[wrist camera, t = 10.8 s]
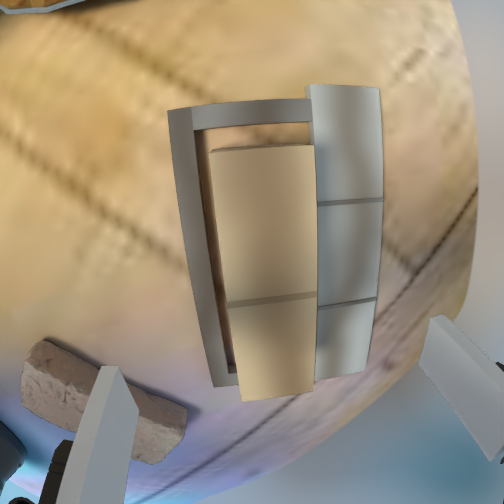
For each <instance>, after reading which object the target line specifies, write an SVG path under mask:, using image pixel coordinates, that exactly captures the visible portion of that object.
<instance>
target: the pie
mask: <svg viewBox="0 0 504 504" xmlns="http://www.w3.org/2000/svg"><path fill="white" fill-rule="evenodd" d="M82 1H86V0H0V9H1V10H2V11H4V12H5V13H7V14H8V15H10V14H23V13H48V12H50V11H53V10H56V9H59V8H62V7H65V6H68V5H72V4H76V3H79V2H82Z"/></svg>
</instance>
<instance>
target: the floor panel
mask: <svg viewBox="0 0 504 504" xmlns="http://www.w3.org/2000/svg"><path fill="white" fill-rule="evenodd" d="M305 92H306V99H275V100H255V101H241V102H230V103H220V104H211V105H202V106H195V107H187V108H181V109H174V110H168V111H167V113H168V123H169V133H170V143H171V152H172V160H173V168H174V176H175V184H176V191H177V199H178V206H179V212H180V219H181V226H182V232H183V238H184V244H185V250H186V256H187V262H188V268H189V273H190V279H191V284H192V290H193V295H194V300H195V305H196V310H197V315H198V320H199V325H200V330H201V334H202V339H203V344H204V348H205V353H206V357H207V361H208V366H209V370H210V374H211V378H212V383H213V387H223V386H234V385H239V381H238V375H237V368H236V364H231V365H228V362H227V357H226V351H225V345H224V340H223V334H222V328H221V322H220V316H219V310H218V303H217V297H216V291H215V284H214V278H213V271H212V264H211V257H210V250H209V243H208V236H207V228H206V221H205V213H204V205H203V197H202V189H201V181H200V172H199V163H198V154H197V144H196V135H195V131H197V130H205V129H214V128H223V127H233V126H244V125H256V124H272V123H294V122H308V128H309V143H310V145H314V153H315V173H316V200H317V291H318V296H317V318H316V345H315V365H314V381H319V380H324V379H329V378H333V377H338V376H343V375H347V374H352V373H356V372H360V371H364V370H365V367H366V362H367V356H368V351H369V345H370V338H371V332H372V325H373V318H374V311H375V303H376V301H377V297H376V294H377V285H378V275H379V264H380V251H381V235H382V212H383V202H384V198H383V148H382V126H381V111H380V98H379V88H373V87H362V86H347V85H326V84H309V85H308V86H306V87H305Z"/></svg>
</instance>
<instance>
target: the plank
mask: <svg viewBox="0 0 504 504" xmlns="http://www.w3.org/2000/svg"><path fill="white" fill-rule="evenodd" d="M209 160H210V169H211V179H212V188H213V197H214V206H215V214H216V223H217V231H218V240H219V248H220V255H221V263H222V271H223V279H224V286H225V293H226V303H227V309H228V315H229V322H230V329H231V336H232V342H233V349H234V355H235V362H236V368H237V375H238V381H239V387H240V393H241V399H242V402H245V401H253V400H261V399H269V398H276V397H283V396H289V395H295V394H301V393H306V392H312V391H313V381H314V365H315V345H316V318H317V296H318V291H317V200H316V173H315V153H314V145H303V144H272V145H258V146H245V147H234V148H224V149H215V150H212V151H211V152H210V153H209Z"/></svg>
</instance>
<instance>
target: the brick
mask: <svg viewBox="0 0 504 504" xmlns="http://www.w3.org/2000/svg"><path fill="white" fill-rule="evenodd" d="M99 371H100V370H98V369H97V368H96V367H95V366H93V365H92V364H90V363H88V362H86V361H83V360H82V359H80V358H79V357H77V356H75V355H73V354H71V353H70V352H68V351H66V350H63V349H61V348H60V347H57V346H55V345H53V344H52V343H50V342H47V341H40V342H37V343H36V344H35V345H34V346H33V347H32V349H31V350H30V351H29V353H28V358H27V359H26V360H25V362H24V367H23V372H22V379H21V398H22V401H21V402H22V405H23V406H24V407H25V408H27V409H29V410H30V411H31V412H32V413H34V414H35V415H37V416H39V417H41V418H43V419H45V420H46V421H48V422H50V423H52V424H55V425H57V426H58V427H61V428H64V429H66V430H69V431H72V432H75V433H77V430H78V427H79V424H80V422H81V419H82V416H83V413H84V410H85V408H86V405H87V402H88V399H89V397H90V394H91V392H92V389H93V386H94V384H95V381H96V379H97V376H98V374H99ZM126 384H127V386H128V388H129V391H130V393H131V395H132V397H133V399H134V401H135V403H136V405H137V407H138V409H139V415H138V420H137V425H136V430H135V435H134V441H133V446H132V452H131V459H133V460H139V461H142V462H145V463H147V464H151V465H153V464H157V463H159V462H161V461H162V460H163V459H165V456H166V455H167V454H168V453H169V452H170V451H171V449H173V448H174V447H176V446H177V445H178V443H179V442H180V441H181V440H182V439H183V437H184V435H185V429H186V421H187V413H188V410H187V409H186V408H185V407H183V406H181V405H178V404H175V403H174V402H172V401H170V400H167V399H164V398H162V397H159V396H156V395H150V394H149V393H147V392H145V391H144V390H142V389H140V388H138V387H136V386H133V385H131V384H129V383H126Z"/></svg>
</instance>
